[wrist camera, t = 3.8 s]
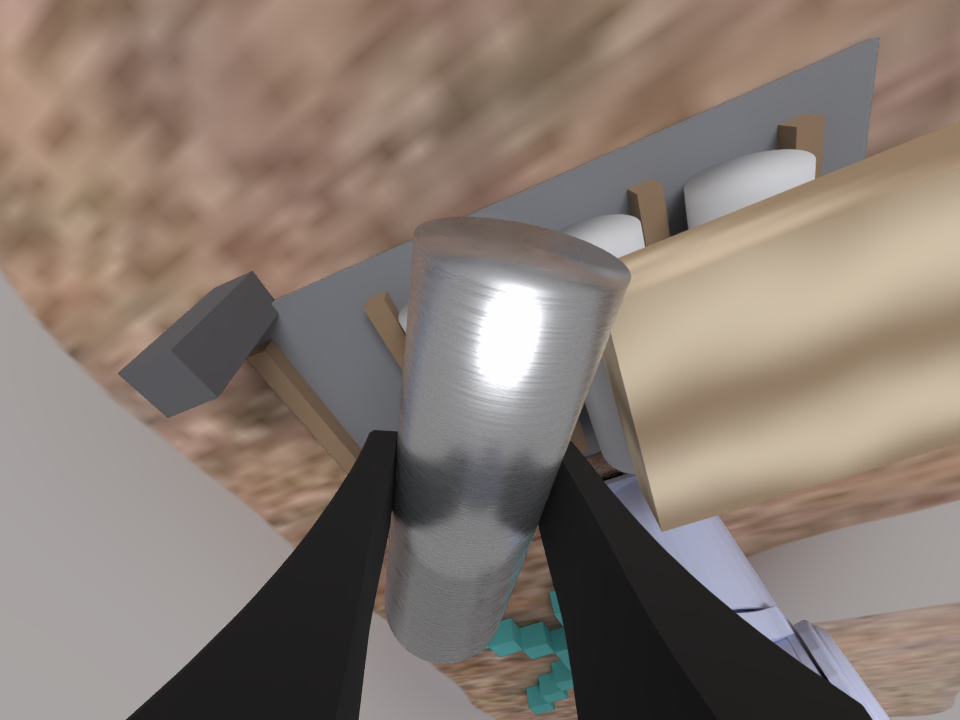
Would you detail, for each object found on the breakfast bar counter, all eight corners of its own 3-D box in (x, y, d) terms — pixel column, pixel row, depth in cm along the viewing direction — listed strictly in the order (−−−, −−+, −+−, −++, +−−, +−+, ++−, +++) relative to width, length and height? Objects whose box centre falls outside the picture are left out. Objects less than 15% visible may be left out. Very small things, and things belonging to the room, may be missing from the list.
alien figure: (532, 690, 47) (707, 641, 44) (536, 714, 45) (719, 665, 42) (454, 616, 37) (677, 545, 33) (454, 644, 35) (691, 572, 31)
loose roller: (417, 207, 9) (408, 276, 6) (589, 232, 10) (672, 307, 6) (390, 540, 15) (378, 666, 12) (495, 542, 16) (512, 661, 13)
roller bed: (831, 386, 24) (943, 471, 19) (404, 527, 28) (396, 631, 23) (875, -13, 14) (1142, -75, 9) (202, 293, 18) (101, 380, 13)
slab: (900, 403, 19) (958, 443, 17) (639, 486, 20) (661, 531, 18) (969, 117, 12) (1078, 123, 10) (579, 273, 14) (603, 306, 12)
